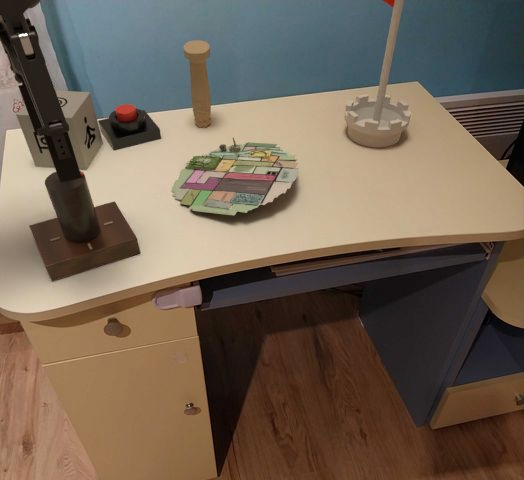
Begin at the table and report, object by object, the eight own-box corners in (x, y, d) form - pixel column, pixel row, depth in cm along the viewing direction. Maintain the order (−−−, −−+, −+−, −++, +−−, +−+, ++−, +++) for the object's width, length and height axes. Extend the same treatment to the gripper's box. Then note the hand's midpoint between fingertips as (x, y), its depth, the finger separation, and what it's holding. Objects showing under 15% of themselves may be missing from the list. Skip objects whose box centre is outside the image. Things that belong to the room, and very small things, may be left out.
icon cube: (35, 166, 94) (16, 114, 87) (55, 140, 101) (38, 89, 93) (86, 170, 94) (71, 118, 86) (103, 143, 100) (90, 92, 92)
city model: (180, 157, 101) (173, 128, 96) (295, 144, 99) (294, 114, 94) (167, 237, 85) (158, 207, 81) (303, 223, 83) (302, 192, 79)
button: (114, 115, 100) (112, 106, 99) (133, 111, 101) (131, 102, 100) (120, 124, 98) (118, 115, 96) (140, 119, 99) (138, 110, 98)
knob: (69, 247, 75) (49, 193, 68) (59, 226, 78) (39, 173, 71) (105, 236, 77) (89, 182, 69) (94, 216, 80) (78, 163, 72)
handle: (191, 132, 103) (182, 53, 91) (192, 117, 107) (184, 40, 96) (214, 132, 103) (209, 53, 92) (214, 117, 107) (209, 40, 96)
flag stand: (398, 118, 108) (437, -56, 84) (411, 149, 100) (459, -34, 76) (338, 119, 107) (361, -56, 84) (347, 150, 99) (375, -34, 76)
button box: (100, 130, 103) (95, 111, 100) (146, 120, 106) (142, 101, 103) (114, 150, 98) (109, 131, 95) (161, 139, 101) (158, 119, 98)
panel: (52, 281, 75) (45, 265, 72) (35, 240, 81) (28, 224, 78) (140, 253, 79) (136, 237, 76) (118, 216, 85) (114, 200, 82)
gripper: (58, -12, 45) (112, 193, 61) (6, -70, 59) (61, 110, 75) (-29, 1, 43) (51, 210, 59) (-62, -63, 57) (10, 121, 73)
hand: (57, 154), depth 67 cm, fingers open, 13 cm apart
